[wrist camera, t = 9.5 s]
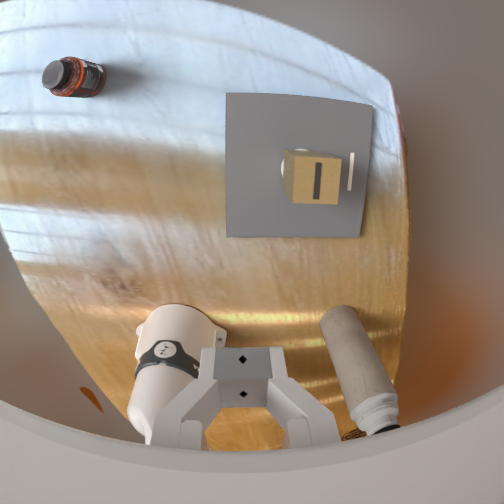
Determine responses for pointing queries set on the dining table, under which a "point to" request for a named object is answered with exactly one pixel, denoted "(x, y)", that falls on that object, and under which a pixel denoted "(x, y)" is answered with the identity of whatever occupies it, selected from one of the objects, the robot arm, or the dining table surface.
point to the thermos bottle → (360, 372)
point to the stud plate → (272, 159)
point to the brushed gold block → (311, 177)
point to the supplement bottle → (73, 78)
